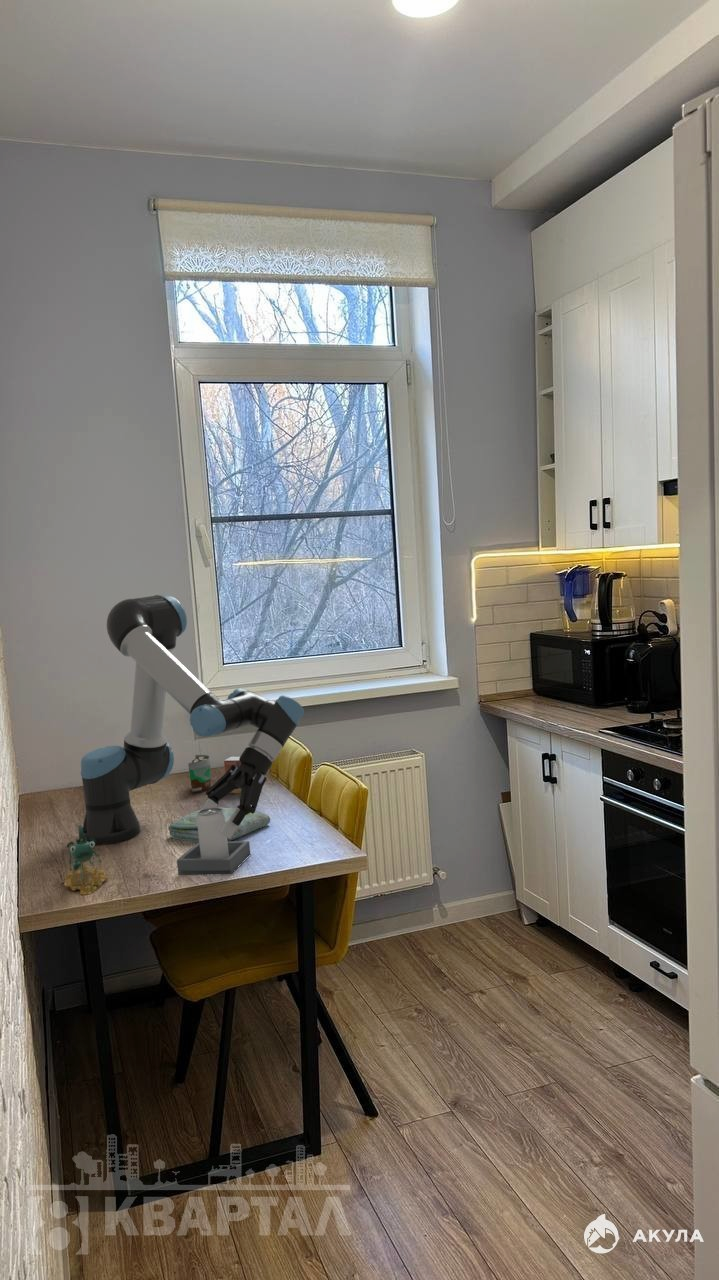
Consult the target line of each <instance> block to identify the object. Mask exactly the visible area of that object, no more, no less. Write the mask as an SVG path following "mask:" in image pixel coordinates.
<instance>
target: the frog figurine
mask: <svg viewBox="0 0 719 1280" xmlns="http://www.w3.org/2000/svg"><path fill="white" fill-rule="evenodd" d="M77 827H78V829H77V830H78V838H76V839H75V841H76V842H75V843H74V841H70V842H69V843H67V845H66V848H69V862H68V864H69V866H70V868H69V870H70V871H69V872H67V875H66V876H65V878H64V884H63V885H64V886H65V887H67V888H69V889H70V890H72V891H76V890H78V891H79V894H80V895H83V896H85V895H90V894H94V892H95V891H97V890H99V888H101V886H102V885H103V882H105V881H106V880H107V879H108V878H109V877H108V876H106V875H105V872H104V870H102V869H98V870H97V868H95V867H93V866H94V861H92V860H91V859H92V858H93V859H95V858H98V860H99V863H102V860H101V858H100V856H99V854H98V853H97V852H96V851H95V850H94V847H95V846H96V844H95V842H96V840H95V839H94V838H89V840H94V841H95V842H94V841H90V842H88V841H87V839H86V838H83V825H81V824H80V825H78V826H77ZM72 858H73V861H72ZM88 861H89V864H90V865H91V866H89V865H84V863H86V862H88ZM72 868H73V869H72ZM72 870H73V871H72ZM71 871H72V872H71Z"/></svg>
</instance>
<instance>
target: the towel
mask: <svg viewBox="0 0 719 1280" xmlns="http://www.w3.org/2000/svg"><path fill="white" fill-rule="evenodd" d="M216 808H218V807H216ZM219 808H220V809H222V813H223V814H224V817H225V825H226V823H227V821H228V820H229V818H230V817H231V815H232V814H233V812H234V810H235V809H236V808H232V807H231V808H230V807H219ZM239 810H240V809H239ZM199 811H201V809H198V810H196V811H194V812H191V813H188V814H186V815H184V816H182V817H181V818H178V819H177V820H175V821H173V822H172V823H171V824H169V825H168V827H167V829H168V831H169V832H168V833H169V834H170V836H171V839H175V840H178V841H179V840H180V841H187V842H194V843H198V842H199V835H198V826H197V824H196V823H195V822H194V820H195V818H196V817H197V815H198V812H199ZM270 823H271V818H270V816H269V815H268V814H266V813H264V812H262V811H259V810H255V812H254V813H253V814H252V813H249V814H247V815H246V816H245V817H244V819H243V820H242V822H241V823H240V825H239V826H238V828H237V829H236V831H235V832H234V834H233V835H232V837H231V839H229V838H227V841H233V840H234V841H235V840H236V838H237V839H239V838H241V837H243V835H244V836H245V835H248V834H250V833H253V832H255V831H258V830H260V829H262V827H263V828H265V827H267V826H268V825H269V824H270ZM266 825H267V826H266ZM264 826H265V827H264ZM259 828H260V829H259ZM257 829H258V830H257ZM252 831H253V832H252Z"/></svg>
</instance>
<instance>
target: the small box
mask: <svg viewBox="0 0 719 1280" xmlns="http://www.w3.org/2000/svg"><path fill="white" fill-rule="evenodd" d="M239 758H240V756H230V757H228V758H226V759H225V760H224V761H223V765H224V774H225V773H226V772H227V771H228V770H229V768H230V767H231V766H232V765H234V766H236V767H237V768H239V767H240V765H241V762H240V760H239ZM241 789H242V788H241ZM241 789H240V788H238V789H234V790H233V791H231V792H230V793H229V794H241Z"/></svg>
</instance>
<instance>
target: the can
mask: <svg viewBox="0 0 719 1280" xmlns="http://www.w3.org/2000/svg"><path fill="white" fill-rule="evenodd" d="M220 808H221V807H217V808H208V809H204V810H201V809H200V810H201V811H199V812H198V818H197V826H198V835H199V844H200V853H201V859H207V858H228V857H229V853H228V843H227V837H226V836H224V835H223V834H222V833H220V832H221V831H222V829H223V828H224V826H225V817H224V814H223V813H222V809H220Z"/></svg>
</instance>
